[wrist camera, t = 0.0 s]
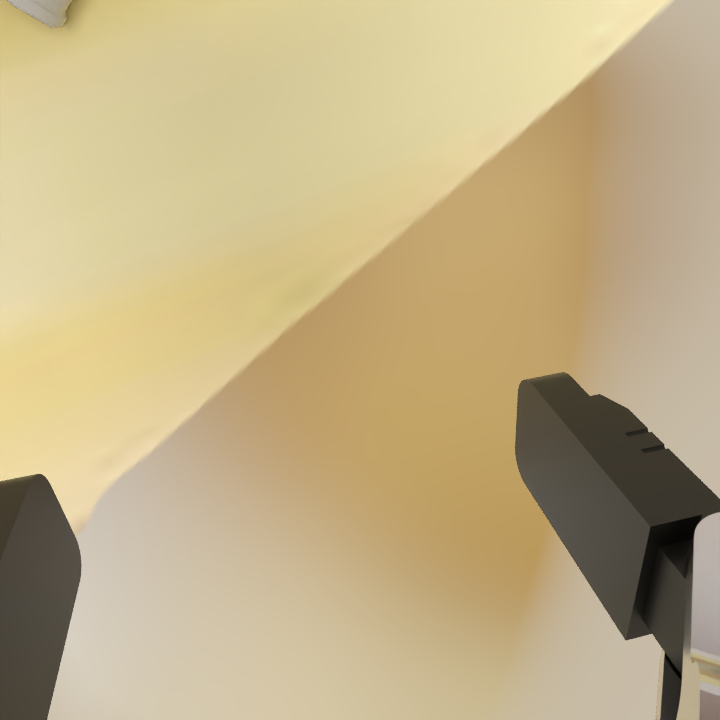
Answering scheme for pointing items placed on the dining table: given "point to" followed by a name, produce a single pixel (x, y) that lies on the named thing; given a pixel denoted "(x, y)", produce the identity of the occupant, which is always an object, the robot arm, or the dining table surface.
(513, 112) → the dining table surface
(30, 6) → the tube
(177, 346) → the dining table surface
